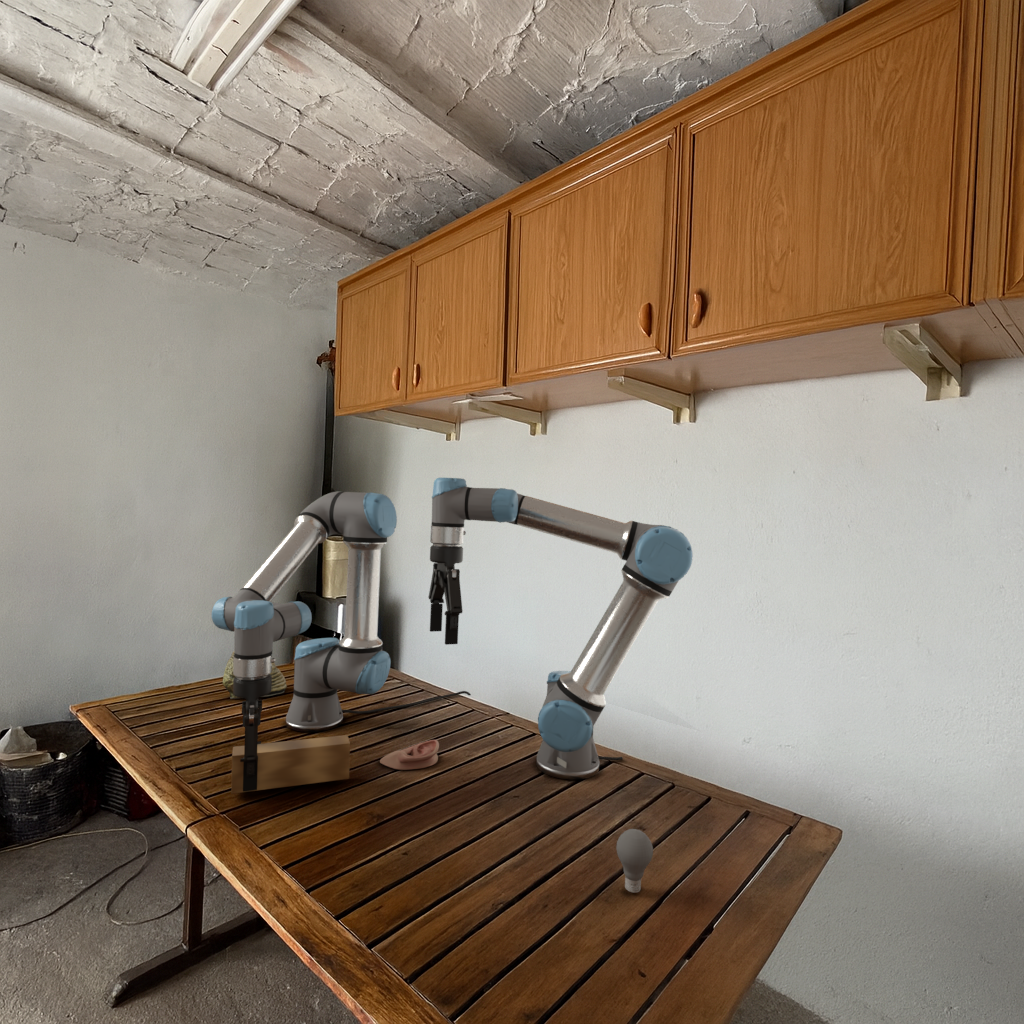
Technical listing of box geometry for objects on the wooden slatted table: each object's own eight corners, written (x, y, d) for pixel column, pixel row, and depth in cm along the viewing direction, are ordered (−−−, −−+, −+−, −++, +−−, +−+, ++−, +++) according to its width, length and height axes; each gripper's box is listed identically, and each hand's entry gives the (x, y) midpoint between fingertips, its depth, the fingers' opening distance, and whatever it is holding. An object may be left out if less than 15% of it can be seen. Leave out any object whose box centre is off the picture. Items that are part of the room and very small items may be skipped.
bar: (231, 793, 131) (232, 755, 130) (232, 783, 135) (233, 746, 135) (349, 778, 139) (350, 743, 139) (346, 769, 144) (347, 734, 143)
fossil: (218, 695, 195) (220, 647, 195) (278, 685, 208) (279, 640, 207) (228, 703, 189) (230, 653, 188) (289, 692, 201) (290, 645, 201)
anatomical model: (374, 749, 149) (393, 732, 160) (374, 766, 149) (393, 748, 161) (428, 756, 147) (443, 739, 158) (427, 774, 147) (443, 754, 158)
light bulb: (610, 879, 108) (613, 822, 108) (644, 879, 109) (647, 822, 109) (619, 902, 102) (622, 840, 102) (655, 901, 103) (658, 840, 103)
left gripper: (272, 686, 126) (269, 801, 127) (271, 662, 143) (269, 763, 144) (231, 689, 124) (228, 806, 124) (235, 664, 140) (233, 768, 141)
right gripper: (479, 550, 135) (475, 649, 135) (448, 541, 158) (444, 625, 158) (445, 549, 132) (441, 650, 132) (418, 540, 155) (415, 626, 156)
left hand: (250, 783), depth 134 cm, fingers closed on bar, 5 cm apart
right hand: (443, 637), depth 145 cm, fingers open, 13 cm apart
